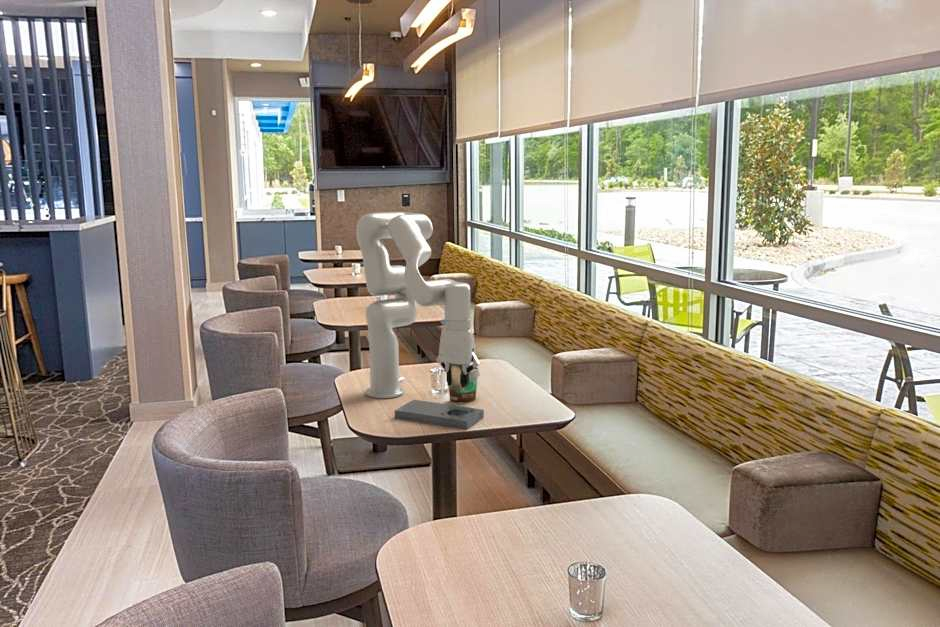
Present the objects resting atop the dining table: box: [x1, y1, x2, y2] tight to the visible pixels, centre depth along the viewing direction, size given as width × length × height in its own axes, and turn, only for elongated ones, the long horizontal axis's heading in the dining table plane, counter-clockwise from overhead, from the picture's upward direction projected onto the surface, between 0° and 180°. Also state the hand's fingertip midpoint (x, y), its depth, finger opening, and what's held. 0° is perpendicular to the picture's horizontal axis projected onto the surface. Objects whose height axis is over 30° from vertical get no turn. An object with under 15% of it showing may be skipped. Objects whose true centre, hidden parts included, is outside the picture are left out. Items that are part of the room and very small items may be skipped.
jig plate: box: [394, 399, 485, 430], centre depth 233 cm, size 12×24×2 cm, turn 65°
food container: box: [448, 366, 481, 403], centre depth 250 cm, size 12×6×10 cm, turn 131°
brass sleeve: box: [451, 364, 464, 391], centre depth 228 cm, size 4×4×8 cm
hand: (457, 384), depth 229 cm, fingers closed on brass sleeve, 4 cm apart
